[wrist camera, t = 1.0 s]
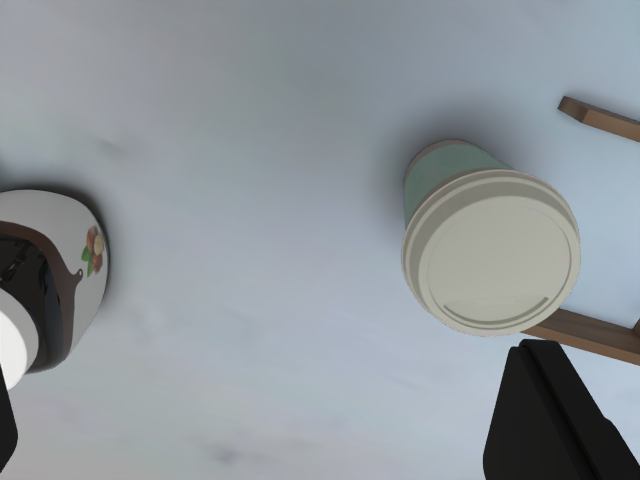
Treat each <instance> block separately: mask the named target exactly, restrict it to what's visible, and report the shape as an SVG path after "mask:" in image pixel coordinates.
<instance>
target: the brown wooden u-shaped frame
mask: <svg viewBox="0 0 640 480" xmlns="http://www.w3.org/2000/svg"><path fill="white" fill-rule="evenodd" d="M558 109H559V110H561V111H563V112H564V113H566V114H568V115H569V116H571V117H573V118H574V119H576V120H578V121H579V122H581V123H583V124H586V125H589V126H592V127H595V128H598V129H601V130H604V131H607V132H610V133H613V134H616V135H619V136H622V137H625V138H628V139H631V140H634V141H637V142H640V122H639V121H636V120H633V119H630V118H627V117H624V116H621V115H618V114H615V113H612V112H609V111H606V110H603V109H600V108H597V107H595V106H592V105H589V104H586V103H583V102H580V101H577V100H574V99H571V98H568V97H565V96H564V97H563V99H562V101H561V103H560V105H559V107H558ZM520 332H521V333H525V334H528V335H532V336H535V337H539V338H543V339H546V340H554V341H557V342H558V343H560V344H564V345H568V346H571V347H575V348H578V349H582V350H585V351H589V352H593V353H596V354H600V355H603V356H607V357H610V358H614V359H618V360H621V361H625V362H628V363H632V364H635V365H639V366H640V319H639V321H638V322H637V324H636V325H635V327H634V328H633V330H632V329H628V328H625V327H621V326H618V325H614V324H611V323H607V322H604V321H600V320H597V319H593V318H590V317H587V316H583V315H580V314H576V313H573V312H569V311H566V310H562V309H559V308H558V309H557V310H556V311H555V312H553V313H552V314H551V315H550V316H548V317H547V318H546V319H544V320H543V321H541V322H540V323H538V324H536V325H534V326H532V327H530V328H528V329H526V330H523V331H520Z"/></svg>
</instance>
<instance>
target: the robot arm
mask: <svg viewBox="0 0 640 480" xmlns="http://www.w3.org/2000/svg"><path fill="white" fill-rule="evenodd" d="M17 440H18V432H17V427H16V423H15V419H14V415H13V411H12V407H11V403H10V400H9V396H8V392H7V388H6V384H5V380H4V376H3V372H2V368H1V364H0V473H1V472H2V470H3V468H4V467H5V465H6V464H7V462H8V461H9V459H10V457H11V456H12V454H13V452H14V450H15V448H16V445H17ZM483 469H484V475H485V478H486V480H640V465H639V464H638V462H637V460H636V459H635V457H634V456H633V454H632V452H631V451H630V449H629V448H628V446H627V444H626V443H625V441H624V440H623V438H622V436H621V435H620V433H619V431H618V430H617V428H616V427H615V426H614V425H613V423H612V422H611V421H610V420H608V419H606V418H605V417H604V416H603V414H602V413H601V411H600V409H599V408H598V406H597V404H596V403H595V401H594V400H593V398H592V396H591V395H590V393H589V391H588V390H587V388H586V386H585V385H584V383H583V382H582V380H581V378H580V377H579V375H578V373H577V372H576V370H575V368H574V367H573V365H572V364H571V362H570V360H569V359H568V357H567V355H566V354H565V352H564V350H563V349H562V347H561V345H560V344H559V343H558V342H557V341H554V340H537V339H523V340H522V341H521V342H520V344H519V347H515V346H513V347H511V348H510V350H509V353H508V357H507V361H506V365H505V369H504V373H503V377H502V381H501V385H500V389H499V393H498V397H497V401H496V405H495V409H494V413H493V417H492V421H491V425H490V429H489V433H488V437H487V441H486V445H485V449H484V454H483Z"/></svg>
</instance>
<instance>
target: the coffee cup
mask: <svg viewBox="0 0 640 480" xmlns="http://www.w3.org/2000/svg"><path fill="white" fill-rule="evenodd" d="M404 207H405V236H404V239H403V244H402V251H401V263H402V270H403V274H404V277H405V280H406V283H407V285H408V287H409V289H410V290H411V292H412V293H413V295H414V296H415V298H416V299H417V301H418V302H419V303H420V304H421V306H422V307H423V308H424V309H425V310H427V311H428V312H429V313H430V314H431V315H433V316H434V317H436V318H437V319H438V320H440V321H441V322H442V323H444V324H445V325H447V326H449V327H450V328H452V329H454V330H457V331H459V332H462V333H465V334H469V335H474V336H481V337H496V336H504V335H510V334H514V333H517V332H520V331H523V330H526V329H528V328H530V327H532V326H534V325H536V324H538V323H540V322H541V321H543V320H544V319H546V318H547V317H548V316H550V315H551V314H552V313H553V312H555V311H556V310H557V309H558V308H559V307H560V306H561V304H562V303H563V302H564V301H565V300H566V298H567V297H568V295H569V294H570V292H571V290H572V288H573V287H574V285H575V282H576V280H577V277H578V274H579V269H580V263H581V252H580V235H579V229H578V226H577V223H576V220H575V218H574V215H573V214H572V211H571V209H570V207H569V205H568V204H567V202H566V201H565V199H564V198H563V197H562V196H561V194H560V193H559V192H558V191H557V190H556V189H555V188H553V187H552V186H551V185H549V184H548V183H547V182H545V181H543V180H541V179H539V178H537V177H535V176H533V175H530V174H527V173H524V172H519V171H516V170H514V169H512V168H511V167H509V166H508V165H506V164H504V163H503V162H501V161H500V160H498V159H496V158H495V157H493V156H492V155H490V154H488V153H487V152H485V151H483V150H482V149H480V148H478V147H477V146H475V145H473V144H471V143H469V142H466V141H462V140H443V141H439V142H436V143H434V144H431V145H429V146H428V147H426V148H424V149H423V150H422V151H421V152H419V153H418V154H417V155H416V156H415V158H414V159H413V160H412V162H411V163H410V165H409V167H408V169H407V171H406V174H405V179H404Z"/></svg>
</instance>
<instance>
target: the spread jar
mask: <svg viewBox="0 0 640 480" xmlns="http://www.w3.org/2000/svg"><path fill="white" fill-rule="evenodd" d="M108 268H109V250H108V244H107V239H106V236H105V233H104V231H103V229H102V227H101V225H100V223H99V221H98V220H97V218H96V216H95V215H94V214H93V212H92V211H91V210H90V209H89V208H88V207H87V206H86V205H84V204H83V203H81V202H79V201H78V200H75V199H73V198H71V197H68V196H65V195H61V194H57V193H52V192H47V191H39V190H14V191H7V192H2V193H0V364H1V368H2V372H3V376H4V380H5V384H6V388H7V390H9V389H11V388H12V387H14V386H15V385H16V384H17V383H18V382H19V380H20V379H21V378H22V377H23V375H26V374H34V373H39V372H42V371H46V370H49V369H52V368H54V367H56V366H57V365H59V364H60V363H61V362H62V361H64V360H65V359H66V358H67V357H68V356H69V354H70V353H71V352H72V351H73V349H74V348H75V346H76V345H77V344H78V342H79V341H80V339H81V338H82V336H83V335H84V333H85V332H86V330H87V329H88V327H89V325H90V324H91V322H92V320H93V318H94V317H95V315H96V313H97V311H98V309H99V306H100V303H101V301H102V298H103V294H104V291H105V285H106V281H107V275H108Z"/></svg>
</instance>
